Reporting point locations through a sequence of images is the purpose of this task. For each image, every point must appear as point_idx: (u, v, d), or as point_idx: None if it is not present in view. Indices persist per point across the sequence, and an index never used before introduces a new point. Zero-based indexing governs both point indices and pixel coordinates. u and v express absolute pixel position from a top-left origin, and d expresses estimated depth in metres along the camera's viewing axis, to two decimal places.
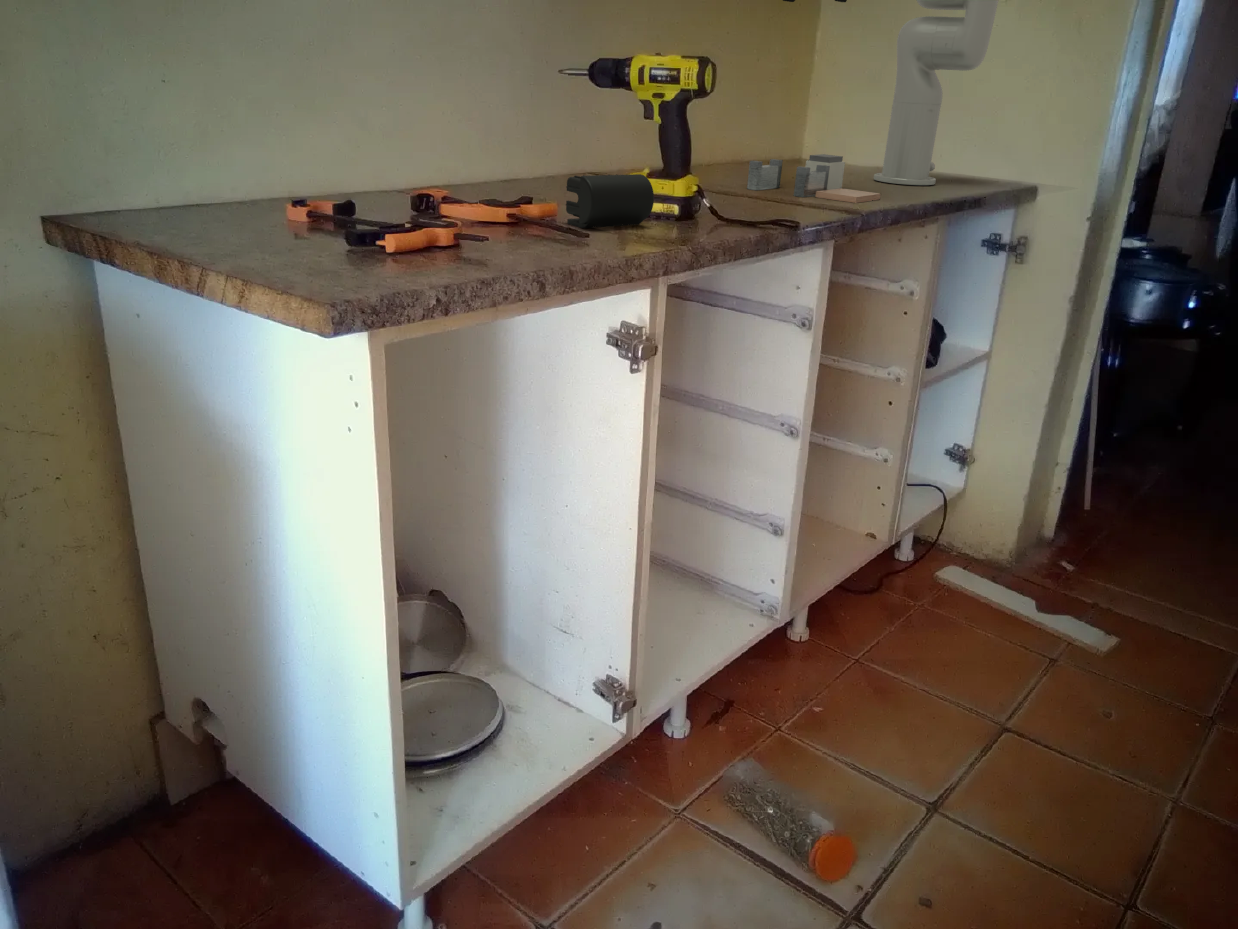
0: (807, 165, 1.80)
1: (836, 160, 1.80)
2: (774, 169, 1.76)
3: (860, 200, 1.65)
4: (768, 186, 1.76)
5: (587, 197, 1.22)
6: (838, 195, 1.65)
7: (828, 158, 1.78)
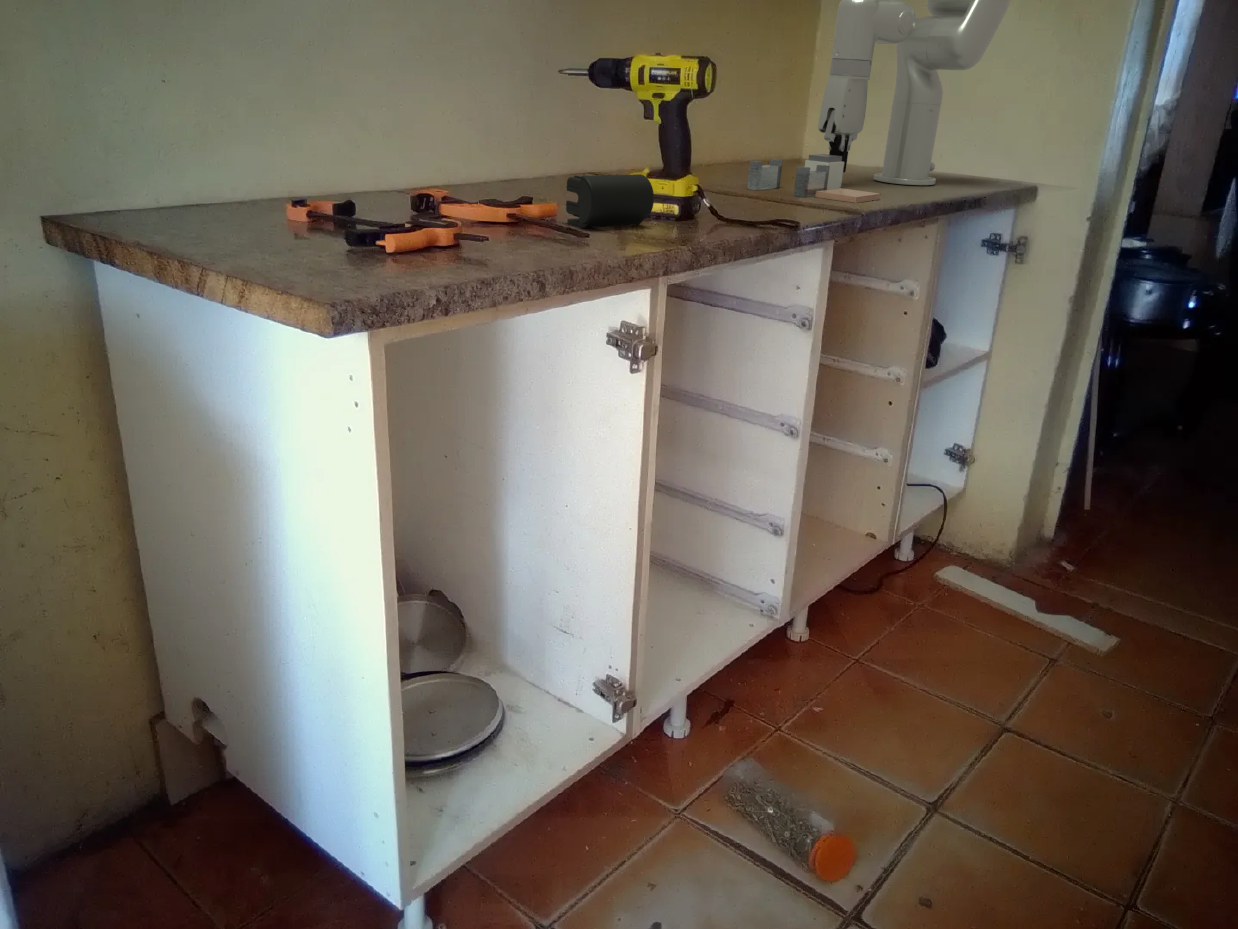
0: (806, 165, 1.80)
1: (835, 160, 1.79)
2: (774, 169, 1.76)
3: (860, 200, 1.65)
4: (768, 186, 1.76)
5: (587, 197, 1.22)
6: (838, 195, 1.65)
7: (827, 158, 1.77)
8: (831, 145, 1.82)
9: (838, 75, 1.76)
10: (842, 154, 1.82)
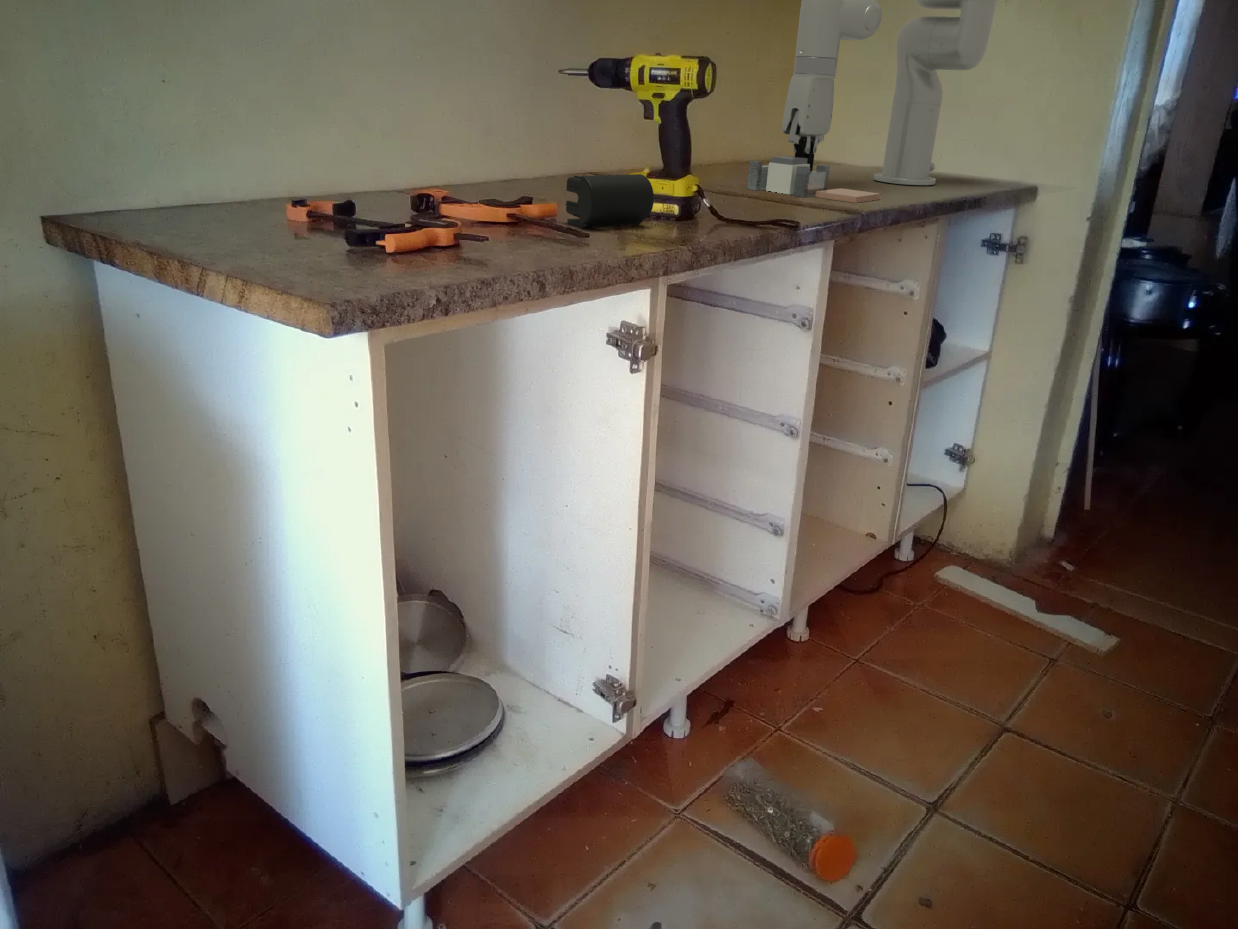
0: (770, 167, 1.71)
1: (800, 162, 1.70)
2: None
3: (860, 200, 1.65)
4: None
5: (587, 197, 1.22)
6: (838, 195, 1.65)
7: (791, 160, 1.68)
8: (796, 147, 1.73)
9: (802, 74, 1.67)
10: (808, 157, 1.73)
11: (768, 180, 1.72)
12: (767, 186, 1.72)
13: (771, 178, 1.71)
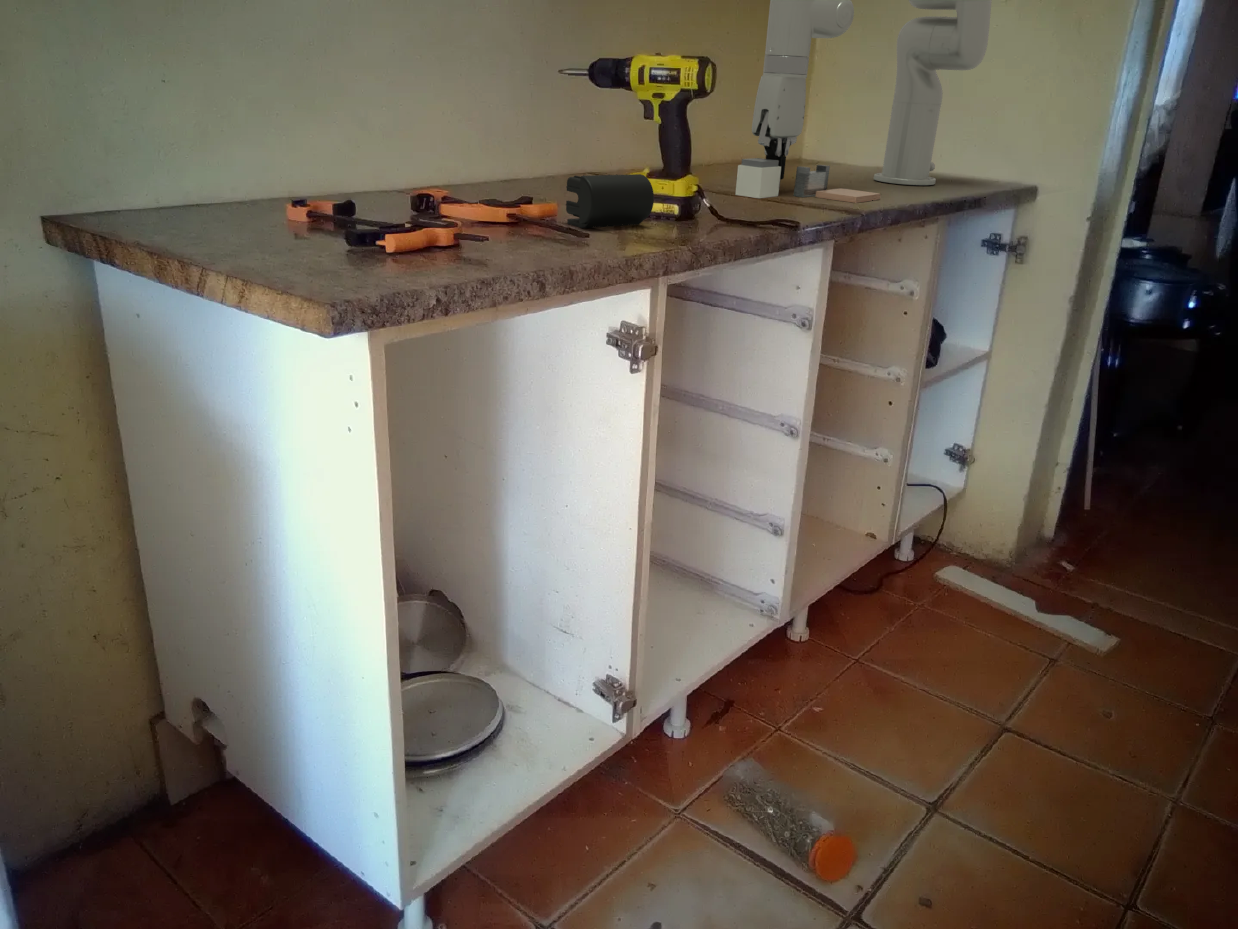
0: (739, 170, 1.64)
1: (771, 165, 1.63)
2: None
3: (860, 200, 1.65)
4: None
5: (587, 197, 1.22)
6: (838, 195, 1.65)
7: (761, 162, 1.61)
8: (767, 150, 1.66)
9: (771, 73, 1.60)
10: (779, 159, 1.67)
11: (737, 183, 1.65)
12: (736, 189, 1.65)
13: (740, 181, 1.65)
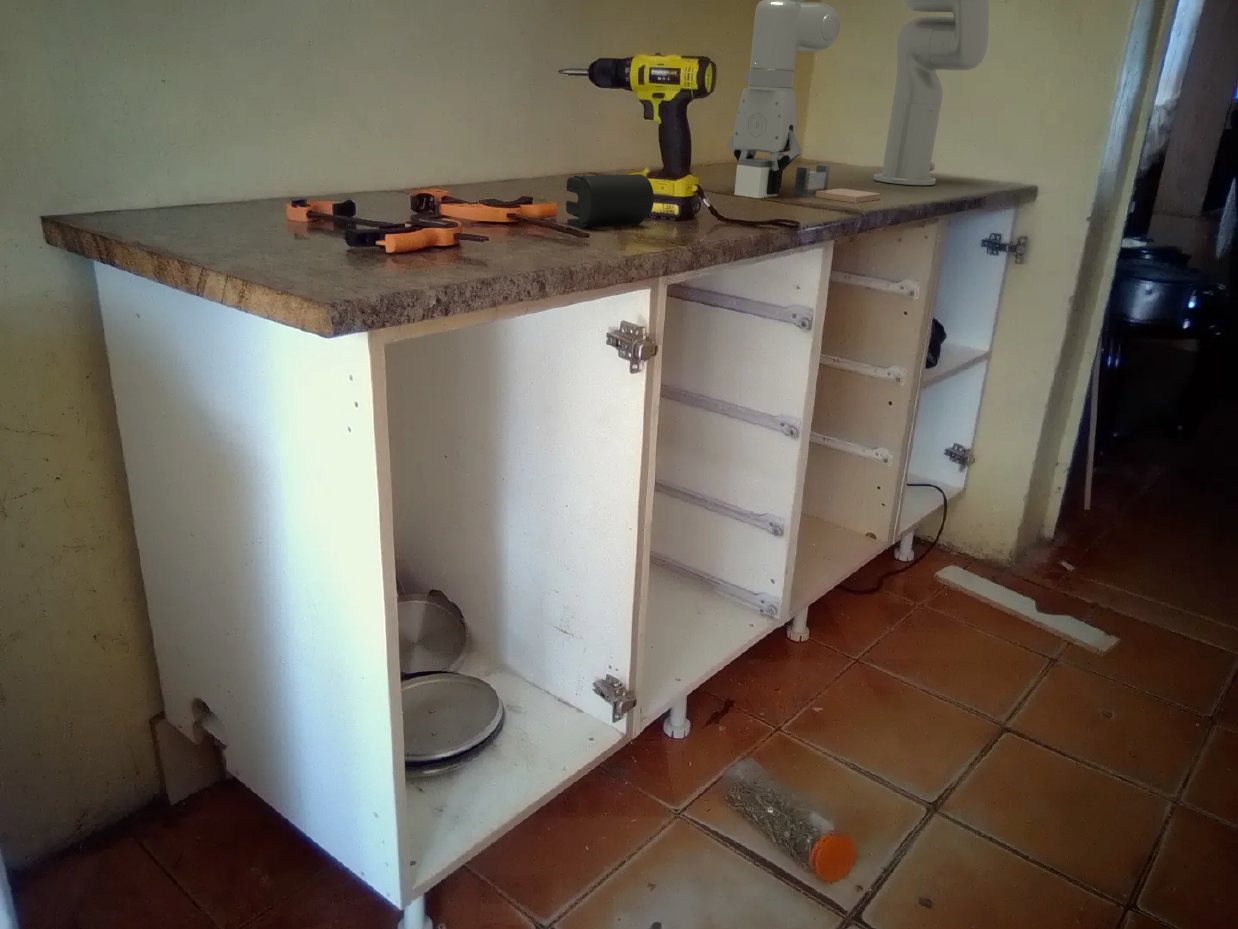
0: (738, 170, 1.64)
1: (770, 165, 1.63)
2: None
3: (860, 200, 1.65)
4: None
5: (587, 197, 1.22)
6: (838, 195, 1.65)
7: (760, 162, 1.61)
8: (783, 162, 1.62)
9: (788, 88, 1.58)
10: None
11: (736, 183, 1.65)
12: (735, 189, 1.66)
13: (739, 181, 1.65)
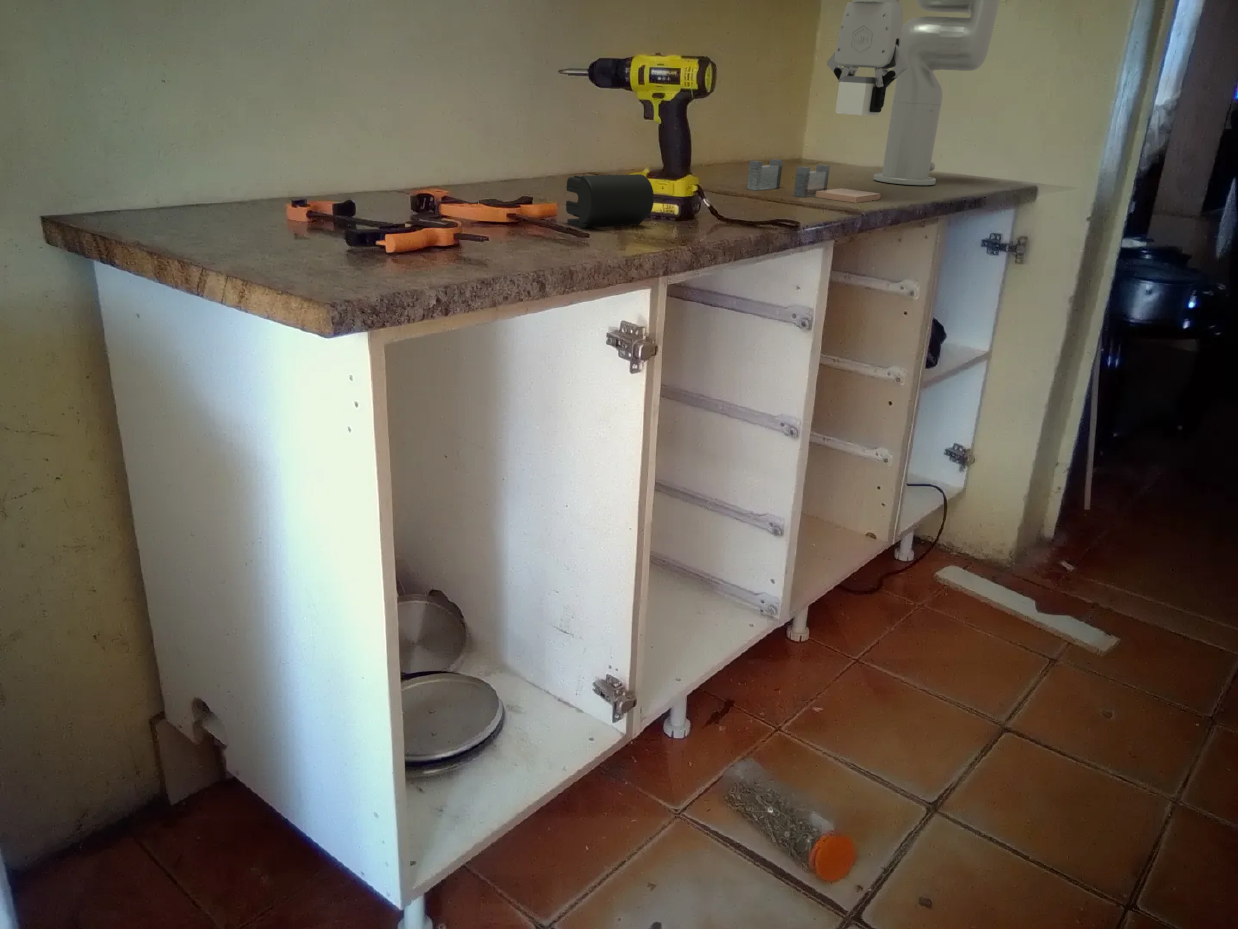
0: (840, 87, 1.60)
1: (873, 81, 1.60)
2: (774, 169, 1.76)
3: (860, 200, 1.65)
4: (768, 186, 1.76)
5: (587, 197, 1.22)
6: (838, 195, 1.65)
7: (865, 78, 1.58)
8: (887, 78, 1.58)
9: (895, 0, 1.54)
10: None
11: (838, 101, 1.61)
12: (837, 107, 1.62)
13: (841, 98, 1.61)
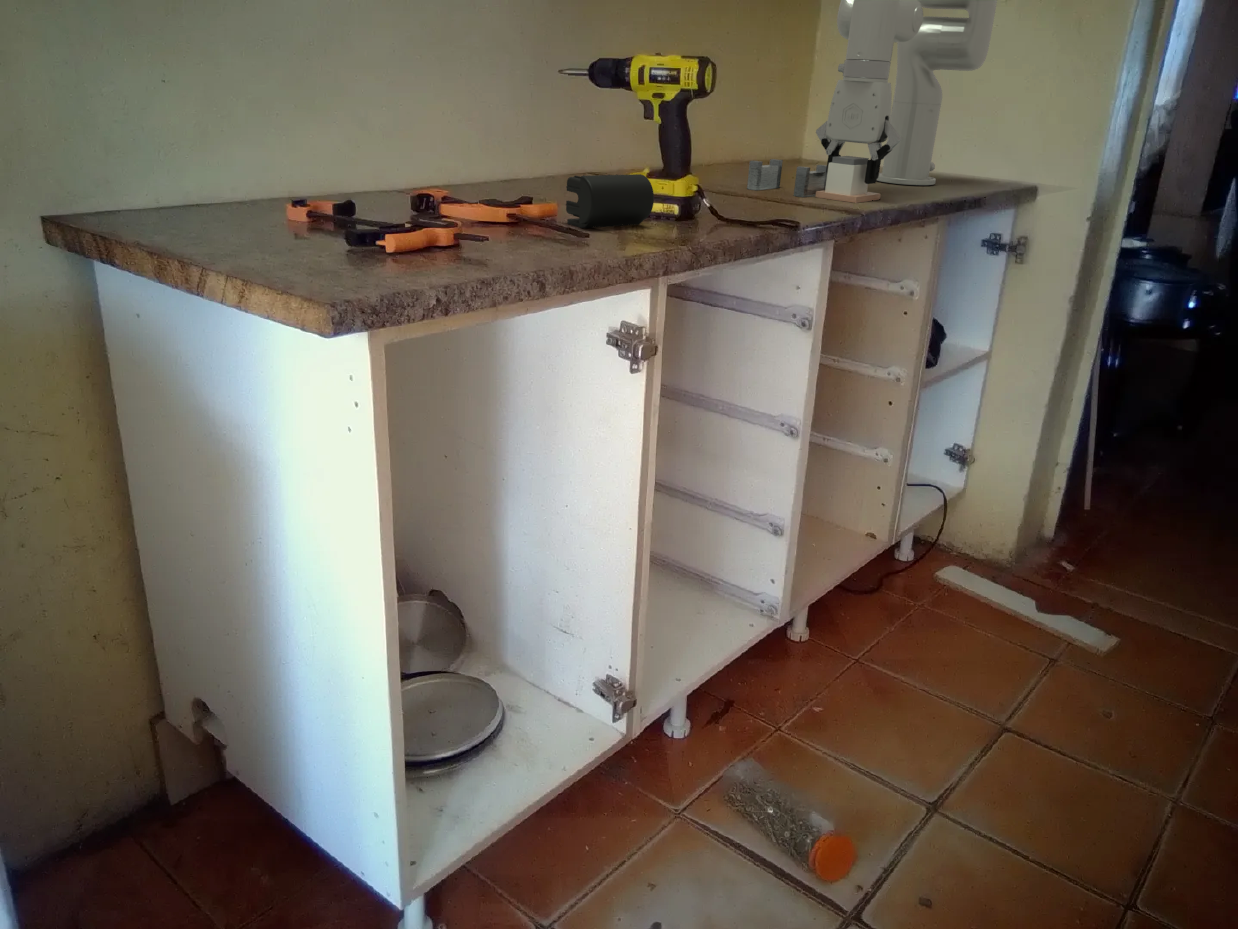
0: (830, 168, 1.66)
1: (861, 162, 1.65)
2: (774, 169, 1.76)
3: (860, 200, 1.65)
4: (768, 186, 1.76)
5: (587, 197, 1.22)
6: (838, 195, 1.65)
7: (853, 160, 1.63)
8: (881, 150, 1.62)
9: (884, 79, 1.59)
10: None
11: (827, 181, 1.67)
12: (826, 187, 1.67)
13: (831, 179, 1.66)
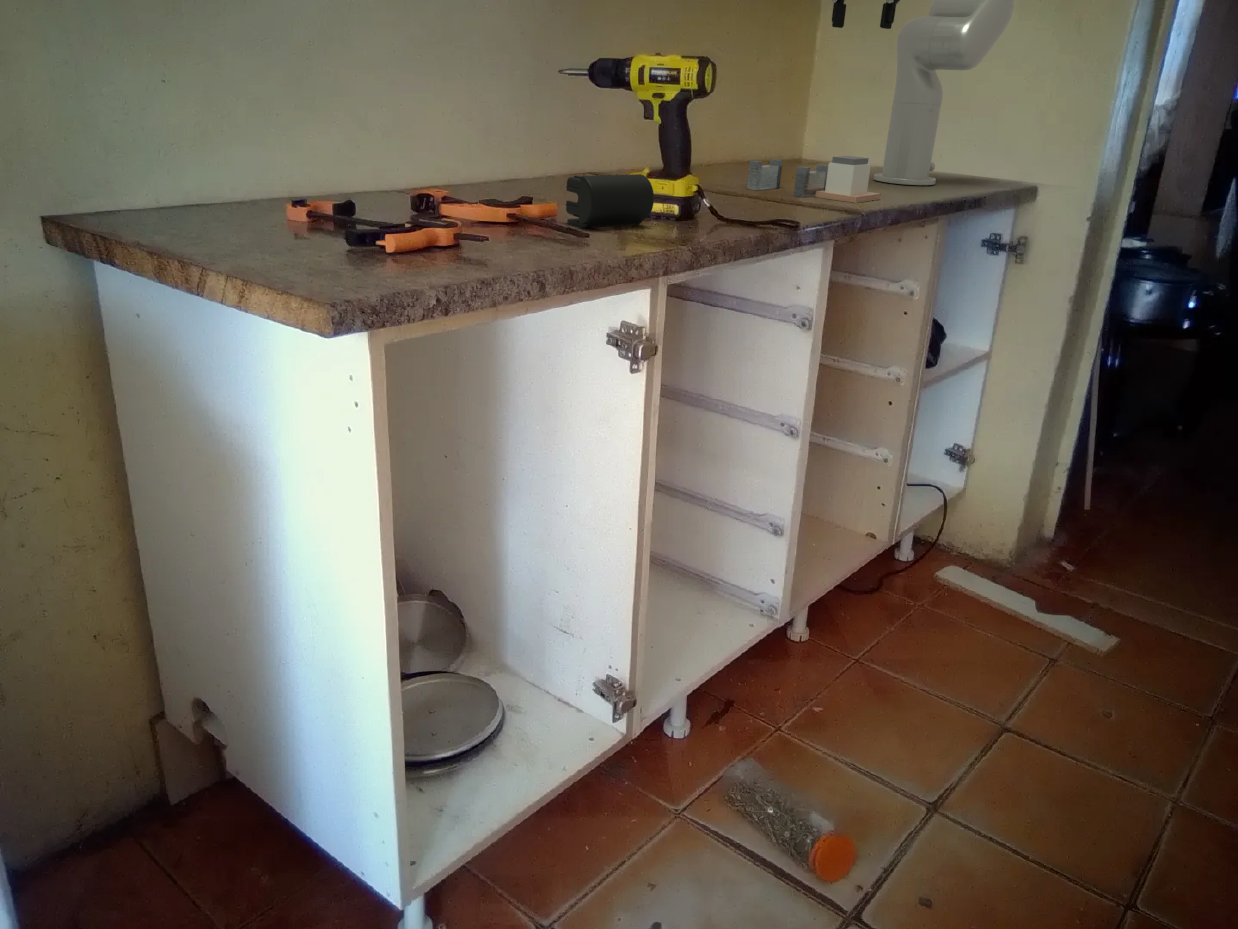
0: (830, 168, 1.66)
1: (861, 162, 1.65)
2: (774, 169, 1.76)
3: (860, 200, 1.65)
4: (768, 186, 1.76)
5: (587, 197, 1.22)
6: (838, 195, 1.65)
7: (853, 160, 1.63)
8: None
9: None
10: None
11: (827, 181, 1.67)
12: (826, 187, 1.67)
13: (831, 179, 1.66)
